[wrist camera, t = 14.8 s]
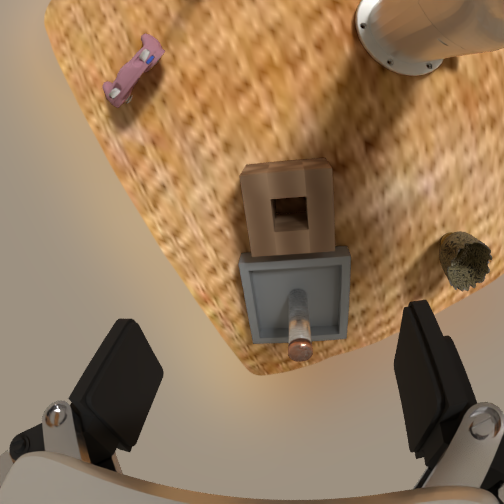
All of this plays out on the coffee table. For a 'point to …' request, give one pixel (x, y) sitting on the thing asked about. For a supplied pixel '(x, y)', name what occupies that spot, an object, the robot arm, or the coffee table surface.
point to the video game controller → (133, 71)
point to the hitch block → (296, 223)
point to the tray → (297, 277)
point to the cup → (464, 259)
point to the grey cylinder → (299, 326)
